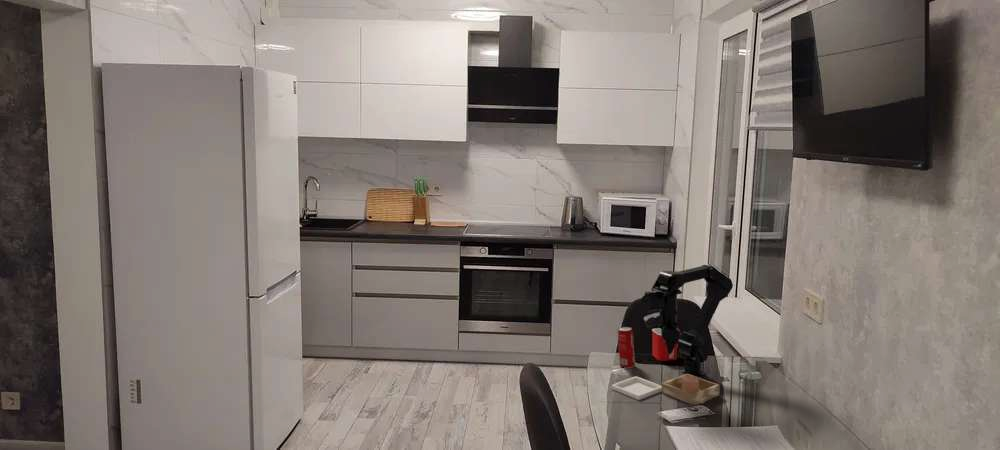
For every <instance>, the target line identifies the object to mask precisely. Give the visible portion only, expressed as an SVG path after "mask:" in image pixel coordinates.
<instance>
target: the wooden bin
mask: <svg viewBox="0 0 1000 450" xmlns="http://www.w3.org/2000/svg"><path fill="white" fill-rule="evenodd" d="M682 376H693V375H690V374H682V375H680V376H676V377H674V378H672V379H669V380H666V381H663V382H662V383H661V392H660V393H661V394H664V395H666V396H669V397H671V398H674V399H676V400H679V401H681V402H684V403H686V404H690V405H692V406H696V405H698V404H701V405H703V404H704V403H707V402H709V401H711V400H713V399H712V398H714V397H716V398H718V397H720V388H721V387H720V386H721V385H720V383H719V384H718V383H716V382H712V381H709V380H707V379H704V378H701V377H697V378H698V381H699V392H697V393H695V394H692V393H690V392H687V391H684V390H682ZM717 396H718V397H717ZM710 399H711V400H710ZM714 399H715V398H714ZM708 400H709V401H708ZM706 401H707V402H706Z"/></svg>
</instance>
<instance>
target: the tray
mask: <svg viewBox="0 0 1000 450" xmlns="http://www.w3.org/2000/svg"><path fill="white" fill-rule="evenodd" d="M610 389H611V390H613V391H615V392H617V393H620V394H622V395H625V396H627V397H630V398H632V399H635V400H637V401H640V400H643V399H645V398H647V397H651V396H653V395H655V394H658V393H661V385H660V384H658V383H655V382H653V381H649V380H647V379H645V378H641V377H639V376H637V375H635V376H633V377H630V378H627V379H624V380H620V381H618V382H616V383H614V384H611V387H610Z"/></svg>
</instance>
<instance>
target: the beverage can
mask: <svg viewBox="0 0 1000 450" xmlns="http://www.w3.org/2000/svg"><path fill="white" fill-rule="evenodd" d="M617 342H618V357H619V366H620V367H621V366H622V367H624V368H623V369H633V368H634V367H635V366H636V358H635V345H634V344H635V342H634V331H633V328H632V327H630V326H621V327H619V328H618V330H617ZM622 367H621V368H622Z"/></svg>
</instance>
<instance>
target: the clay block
mask: <svg viewBox="0 0 1000 450" xmlns="http://www.w3.org/2000/svg"><path fill="white" fill-rule="evenodd" d="M681 376H682V375H681ZM698 378H699V377H698ZM698 378H697V376H682V390H684V391H687V392H690V393H692V394H695V393H697V392H699V381H698Z"/></svg>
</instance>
